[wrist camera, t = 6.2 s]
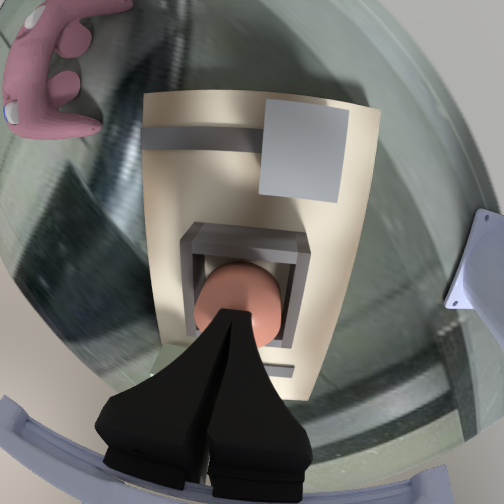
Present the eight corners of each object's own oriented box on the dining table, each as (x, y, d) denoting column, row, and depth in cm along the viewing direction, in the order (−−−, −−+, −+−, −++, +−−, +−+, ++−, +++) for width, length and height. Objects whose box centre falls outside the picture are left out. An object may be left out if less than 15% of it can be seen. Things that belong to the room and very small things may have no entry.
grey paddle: (333, 113, 11) (349, 110, 9) (324, 186, 13) (336, 203, 10) (268, 104, 11) (266, 98, 9) (262, 178, 13) (258, 194, 10)
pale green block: (203, 350, 18) (193, 382, 16) (206, 380, 20) (197, 410, 17) (163, 343, 19) (149, 373, 16) (170, 373, 20) (159, 402, 17)
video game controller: (108, 9, 11) (24, 0, 6) (143, -6, 10) (43, -26, 4) (79, 132, 16) (-7, 143, 10) (106, 140, 14) (-1, 153, 8)
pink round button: (285, 260, 14) (286, 288, 11) (276, 322, 15) (275, 354, 13) (205, 252, 14) (191, 278, 12) (206, 314, 16) (196, 344, 13)
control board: (371, 111, 13) (400, 108, 9) (307, 387, 22) (308, 424, 19) (155, 95, 13) (119, 90, 10) (174, 370, 23) (162, 405, 19)
